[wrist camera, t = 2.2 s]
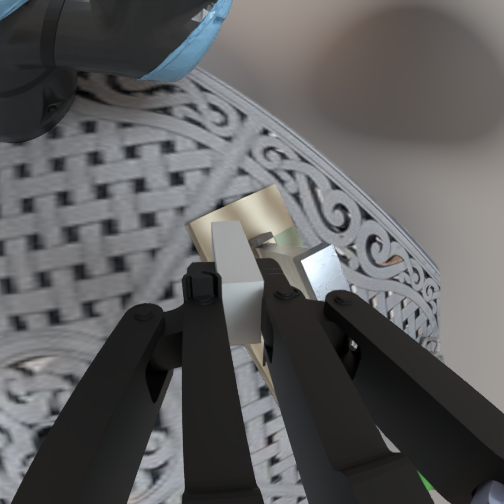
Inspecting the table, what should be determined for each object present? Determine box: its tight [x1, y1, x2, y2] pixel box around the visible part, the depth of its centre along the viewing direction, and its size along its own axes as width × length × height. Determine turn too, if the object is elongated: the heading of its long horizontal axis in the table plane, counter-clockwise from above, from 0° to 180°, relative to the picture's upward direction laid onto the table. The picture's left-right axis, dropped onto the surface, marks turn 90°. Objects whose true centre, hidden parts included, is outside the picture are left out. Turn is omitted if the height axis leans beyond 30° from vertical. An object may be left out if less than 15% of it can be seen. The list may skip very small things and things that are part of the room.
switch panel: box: [185, 184, 305, 408], centre depth 43 cm, size 14×32×5 cm, turn 28°
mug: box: [421, 337, 444, 363], centre depth 59 cm, size 10×7×7 cm, turn 160°
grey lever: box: [255, 242, 351, 301], centre depth 33 cm, size 3×6×19 cm, turn 28°
